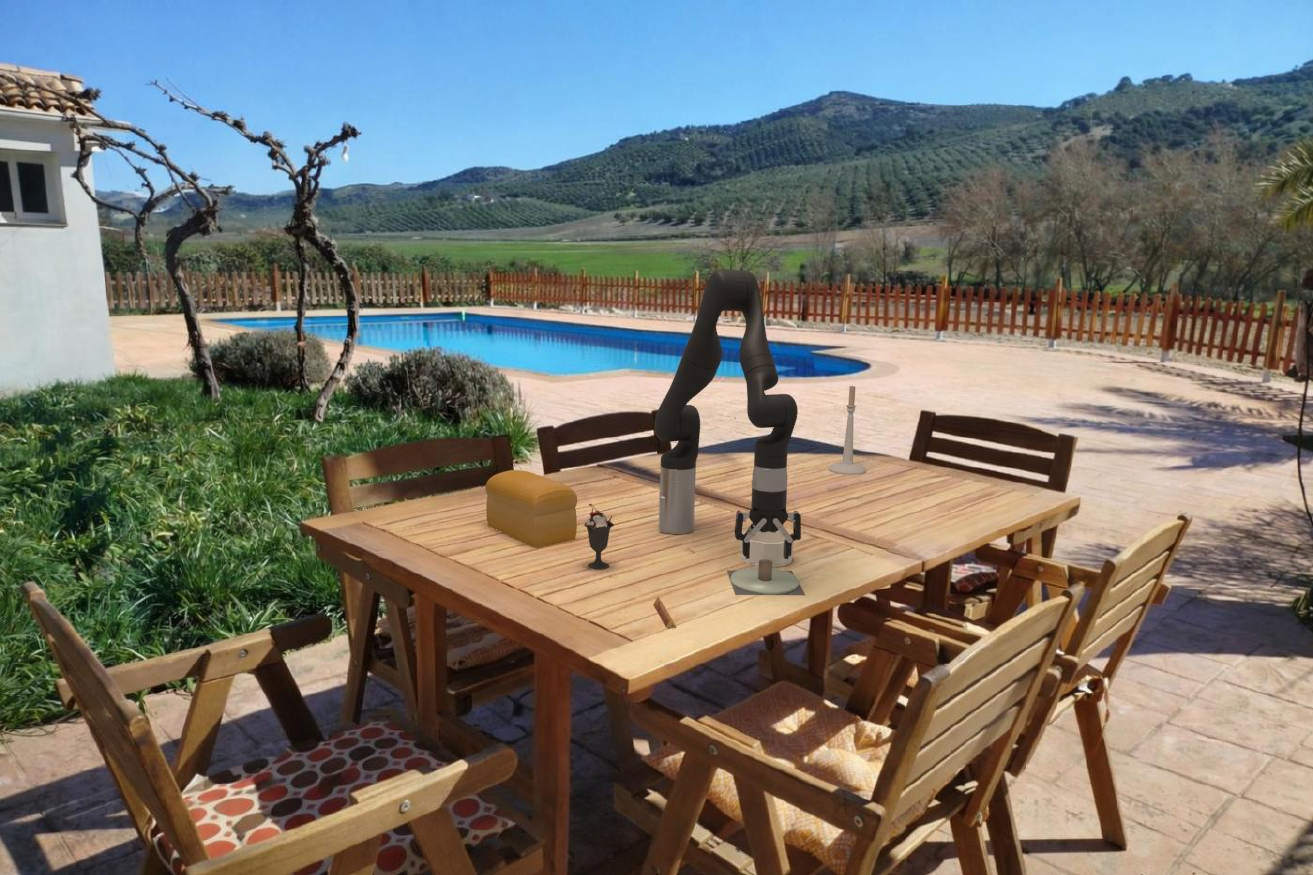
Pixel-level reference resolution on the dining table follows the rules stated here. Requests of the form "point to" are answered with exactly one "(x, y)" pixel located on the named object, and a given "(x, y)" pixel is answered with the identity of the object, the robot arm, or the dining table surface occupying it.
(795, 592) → the mat
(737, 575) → the lid
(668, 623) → the chocolate bar
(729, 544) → the dining table surface
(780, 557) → the bowl
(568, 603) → the dining table surface
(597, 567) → the sundae
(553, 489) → the bread
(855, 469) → the candlestick
